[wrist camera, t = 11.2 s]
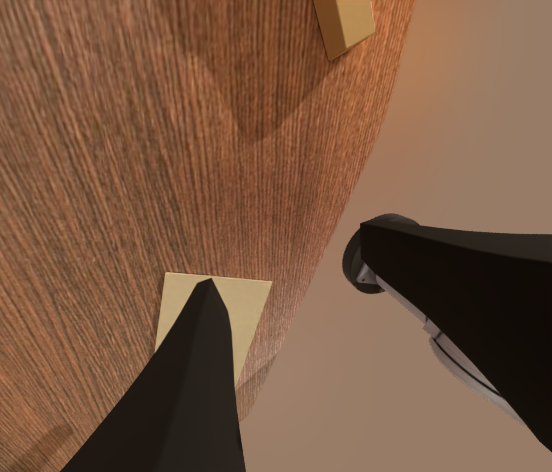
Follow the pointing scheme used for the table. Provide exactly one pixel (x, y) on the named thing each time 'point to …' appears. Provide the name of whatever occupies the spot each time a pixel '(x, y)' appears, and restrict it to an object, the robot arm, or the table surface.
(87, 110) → the table surface
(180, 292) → the cake board
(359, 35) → the knife
